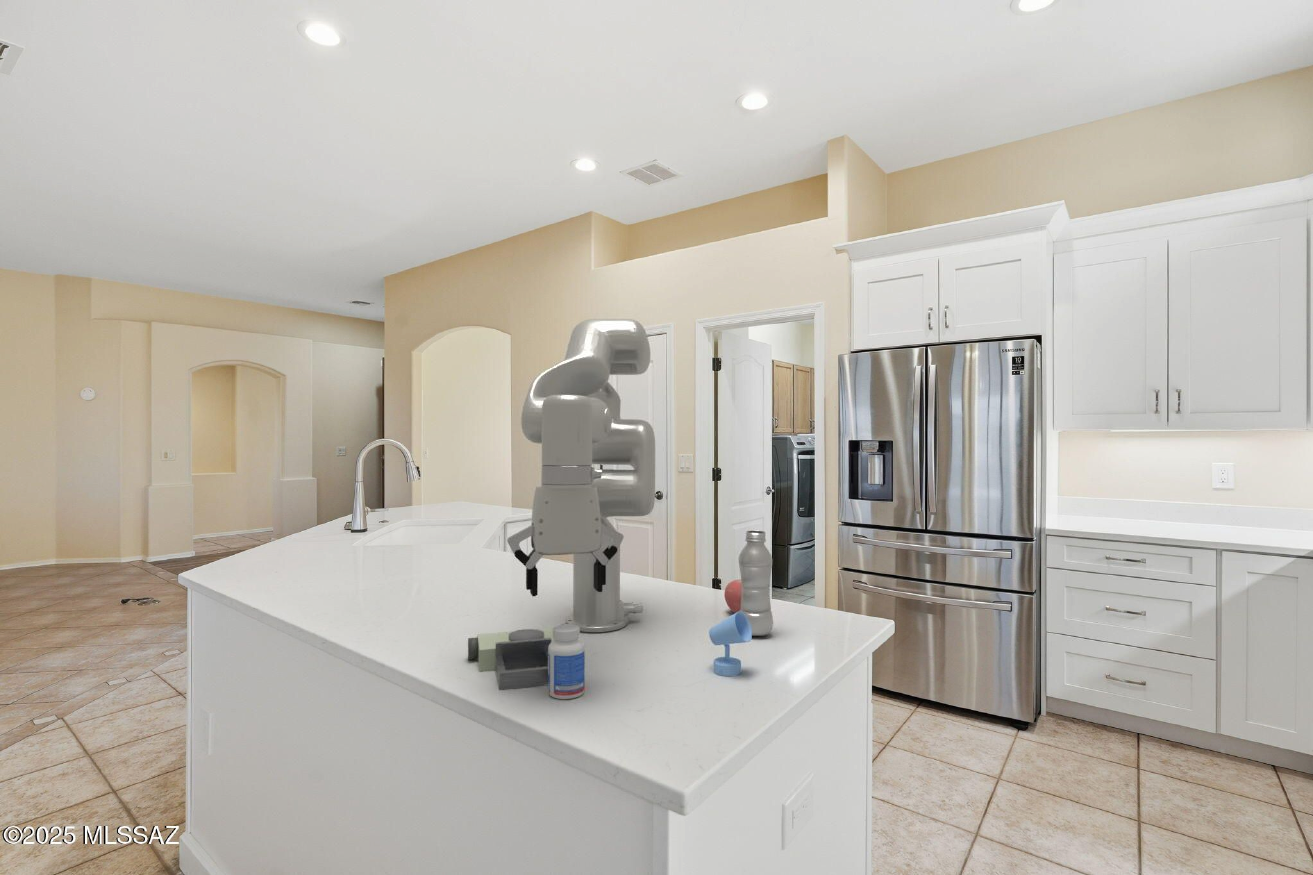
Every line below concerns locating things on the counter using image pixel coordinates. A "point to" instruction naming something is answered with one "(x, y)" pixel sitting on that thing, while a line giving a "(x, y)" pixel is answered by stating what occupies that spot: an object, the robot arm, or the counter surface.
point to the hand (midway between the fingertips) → (566, 592)
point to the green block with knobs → (485, 643)
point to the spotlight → (730, 642)
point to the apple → (734, 595)
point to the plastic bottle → (756, 583)
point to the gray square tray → (522, 663)
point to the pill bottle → (566, 663)
